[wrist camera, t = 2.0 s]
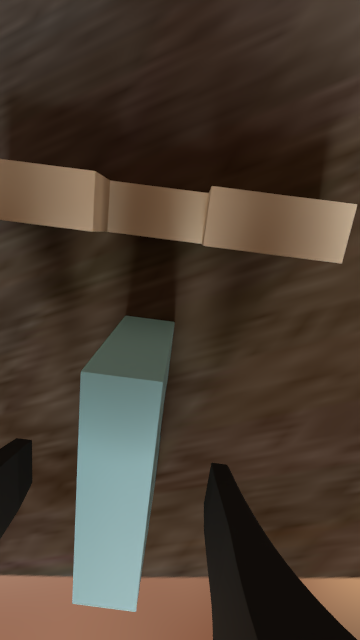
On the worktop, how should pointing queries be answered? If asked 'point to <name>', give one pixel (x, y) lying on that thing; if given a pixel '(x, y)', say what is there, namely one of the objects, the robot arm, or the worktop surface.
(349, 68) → the worktop surface
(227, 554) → the robot arm
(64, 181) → the birch slotted rail
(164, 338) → the teal notched block
